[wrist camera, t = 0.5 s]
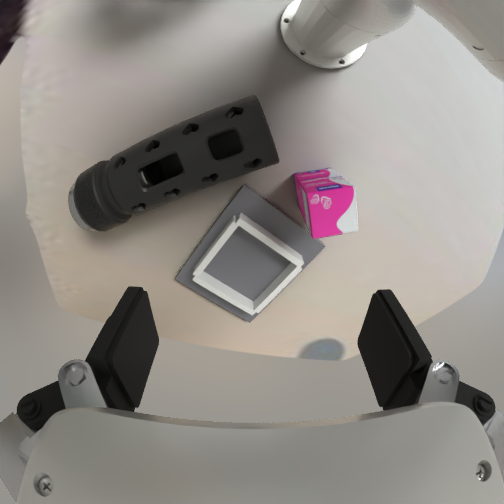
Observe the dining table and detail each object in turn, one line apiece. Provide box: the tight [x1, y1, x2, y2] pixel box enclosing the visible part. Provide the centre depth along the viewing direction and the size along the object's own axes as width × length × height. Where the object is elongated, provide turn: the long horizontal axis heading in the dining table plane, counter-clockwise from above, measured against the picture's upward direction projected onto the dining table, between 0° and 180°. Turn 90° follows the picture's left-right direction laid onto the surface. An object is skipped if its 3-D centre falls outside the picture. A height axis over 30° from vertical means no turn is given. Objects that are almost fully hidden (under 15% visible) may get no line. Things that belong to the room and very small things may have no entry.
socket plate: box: [175, 184, 325, 323], centre depth 44 cm, size 20×16×4 cm
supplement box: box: [294, 168, 358, 239], centre depth 35 cm, size 6×6×12 cm
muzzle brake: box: [68, 95, 279, 231], centre depth 33 cm, size 10×28×10 cm, turn 109°
